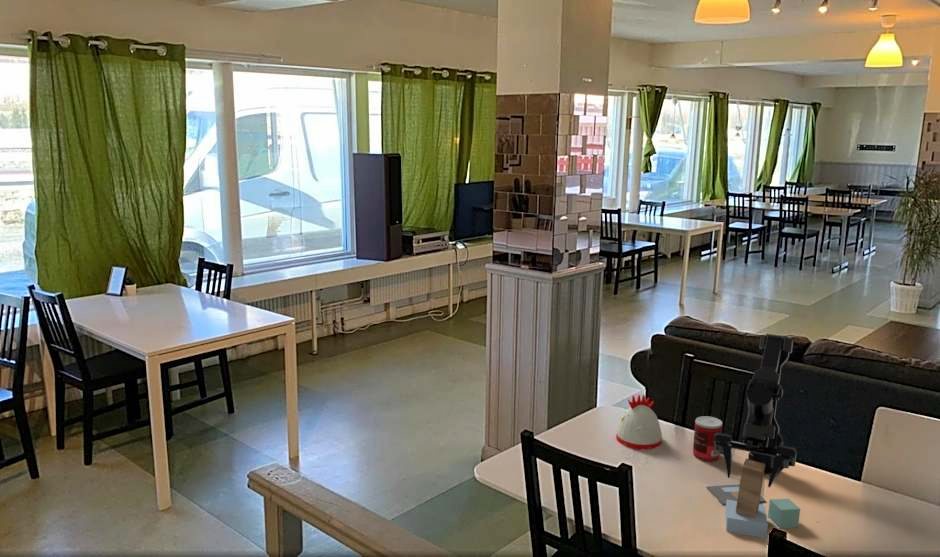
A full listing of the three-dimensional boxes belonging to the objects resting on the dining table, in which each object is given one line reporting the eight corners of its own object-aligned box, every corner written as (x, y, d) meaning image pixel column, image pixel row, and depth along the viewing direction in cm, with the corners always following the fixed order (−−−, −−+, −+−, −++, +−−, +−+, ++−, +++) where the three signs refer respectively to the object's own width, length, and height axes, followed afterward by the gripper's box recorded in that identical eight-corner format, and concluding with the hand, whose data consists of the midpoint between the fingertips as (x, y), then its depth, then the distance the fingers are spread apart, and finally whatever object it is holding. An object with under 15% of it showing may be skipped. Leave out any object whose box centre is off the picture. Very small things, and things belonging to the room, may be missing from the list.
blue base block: (725, 513, 178) (726, 499, 178) (763, 520, 176) (764, 505, 175) (725, 532, 170) (727, 517, 169) (766, 539, 167) (767, 524, 167)
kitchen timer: (610, 431, 226) (613, 387, 223) (651, 430, 228) (654, 386, 225) (624, 450, 213) (627, 404, 210) (668, 448, 214) (671, 402, 211)
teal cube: (786, 516, 177) (788, 498, 176) (797, 527, 172) (800, 508, 171) (767, 517, 176) (769, 499, 175) (779, 528, 171) (781, 510, 170)
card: (747, 485, 192) (747, 483, 192) (765, 502, 183) (765, 500, 183) (706, 487, 191) (706, 486, 190) (722, 504, 182) (722, 503, 182)
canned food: (721, 452, 212) (724, 418, 209) (718, 463, 205) (721, 428, 202) (694, 447, 215) (697, 414, 213) (690, 458, 208) (693, 423, 206)
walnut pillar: (739, 503, 175) (745, 458, 172) (758, 509, 173) (765, 463, 170) (735, 512, 171) (742, 466, 168) (754, 518, 169) (762, 471, 166)
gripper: (717, 402, 175) (705, 460, 167) (800, 417, 166) (791, 479, 159) (720, 420, 183) (709, 477, 176) (799, 435, 174) (790, 496, 167)
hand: (748, 482), depth 169 cm, fingers open, 9 cm apart
